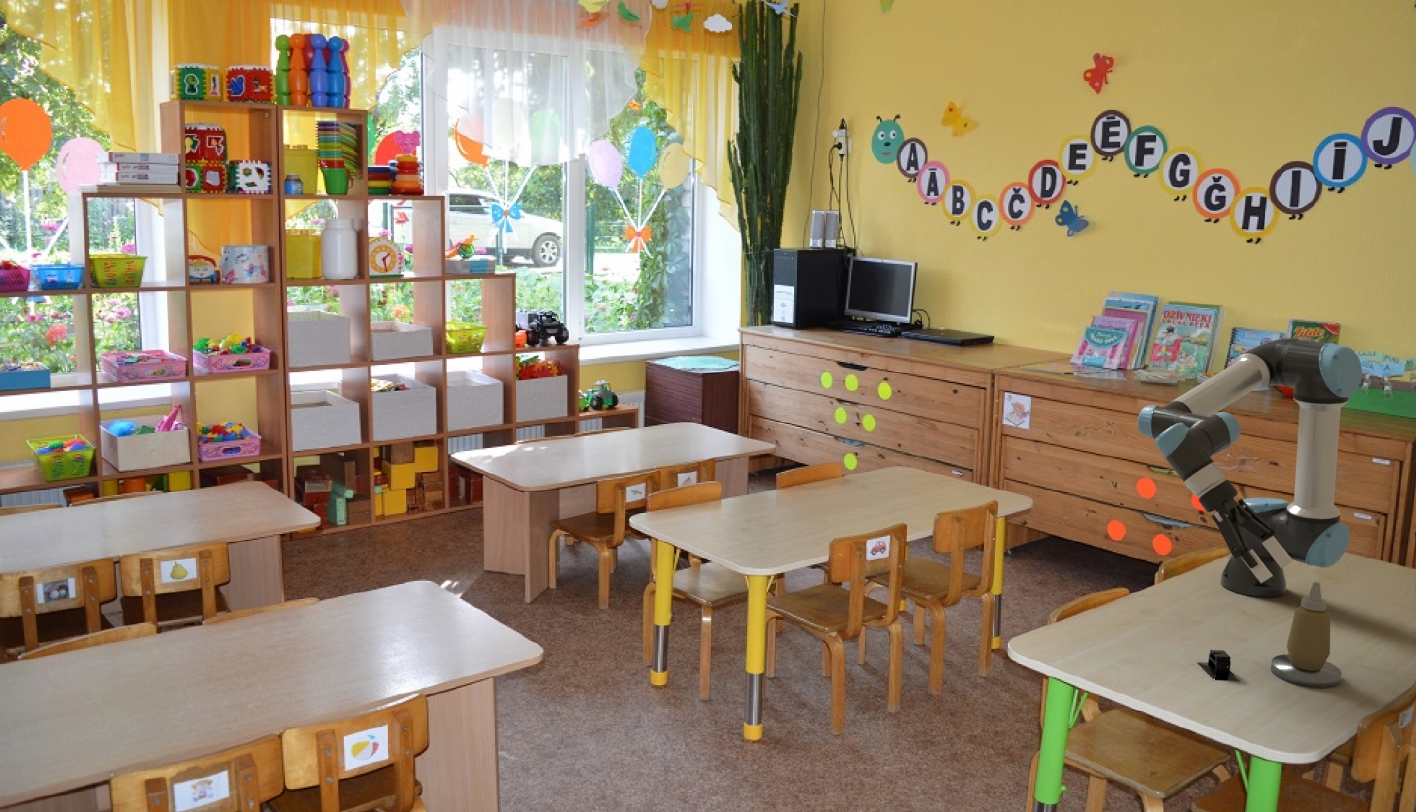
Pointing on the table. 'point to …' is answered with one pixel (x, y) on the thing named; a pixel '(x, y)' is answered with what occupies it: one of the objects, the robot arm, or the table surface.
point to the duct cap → (1306, 674)
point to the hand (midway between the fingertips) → (1277, 572)
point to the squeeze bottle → (1310, 632)
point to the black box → (1219, 666)
